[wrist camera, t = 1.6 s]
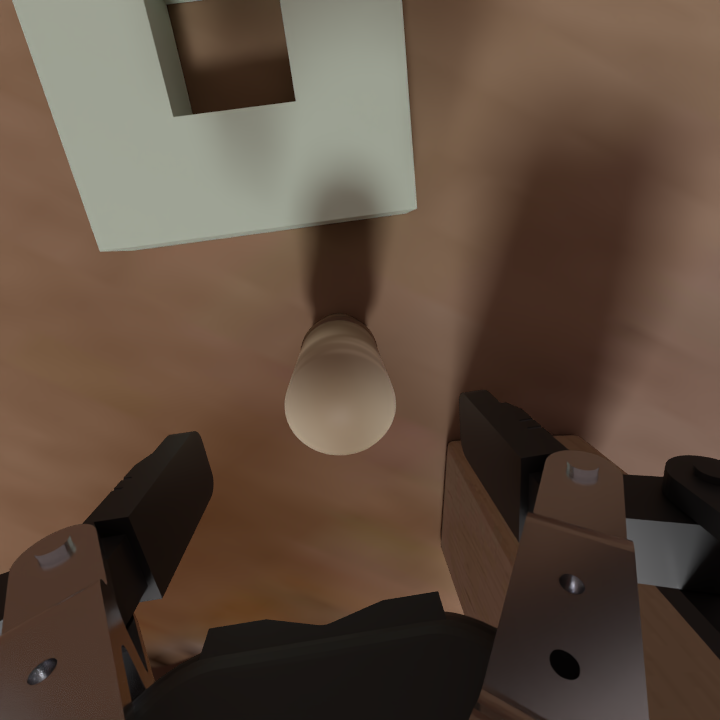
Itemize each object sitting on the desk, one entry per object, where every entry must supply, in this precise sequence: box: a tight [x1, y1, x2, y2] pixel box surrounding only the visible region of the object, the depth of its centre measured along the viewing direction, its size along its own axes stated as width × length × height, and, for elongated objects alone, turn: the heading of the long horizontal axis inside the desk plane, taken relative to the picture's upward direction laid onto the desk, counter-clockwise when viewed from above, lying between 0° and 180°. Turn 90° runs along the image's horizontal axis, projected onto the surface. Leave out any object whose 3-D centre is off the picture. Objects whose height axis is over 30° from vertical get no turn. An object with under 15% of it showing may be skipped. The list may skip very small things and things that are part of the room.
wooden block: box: [441, 435, 720, 720], centre depth 18 cm, size 10×10×20 cm
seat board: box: [12, 0, 417, 251], centre depth 17 cm, size 16×16×3 cm
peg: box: [285, 314, 396, 455], centre depth 18 cm, size 4×4×10 cm
